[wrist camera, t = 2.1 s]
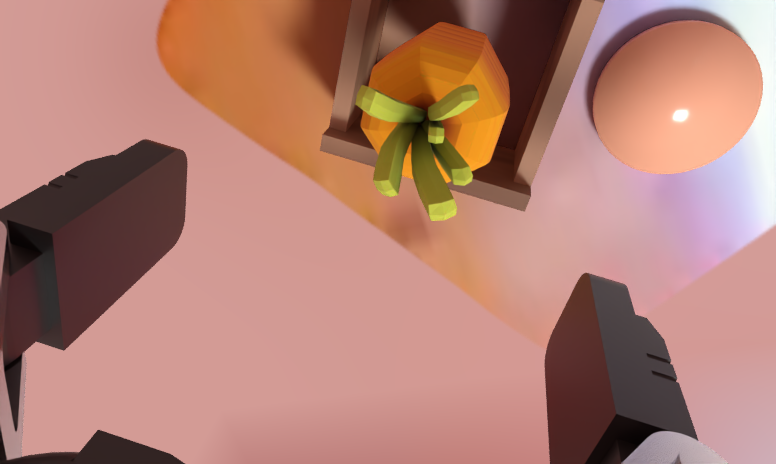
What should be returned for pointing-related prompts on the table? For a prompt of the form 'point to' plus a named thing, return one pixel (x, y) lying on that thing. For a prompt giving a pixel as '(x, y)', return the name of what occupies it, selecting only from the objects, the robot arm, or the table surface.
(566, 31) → the brown open box
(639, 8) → the table surface
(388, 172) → the carrot
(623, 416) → the robot arm
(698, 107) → the peach dome
